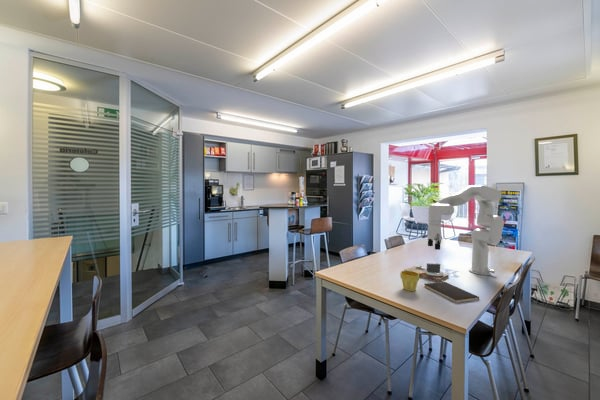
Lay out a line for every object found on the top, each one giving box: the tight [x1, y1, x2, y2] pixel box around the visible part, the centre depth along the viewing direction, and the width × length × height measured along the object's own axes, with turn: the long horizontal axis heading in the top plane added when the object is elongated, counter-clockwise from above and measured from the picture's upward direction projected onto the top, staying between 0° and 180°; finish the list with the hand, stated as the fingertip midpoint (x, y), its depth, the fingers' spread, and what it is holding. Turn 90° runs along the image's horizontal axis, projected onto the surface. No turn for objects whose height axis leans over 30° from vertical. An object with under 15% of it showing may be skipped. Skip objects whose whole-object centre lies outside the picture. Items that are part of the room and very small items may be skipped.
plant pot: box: [399, 270, 420, 292], centre depth 151 cm, size 10×10×10 cm
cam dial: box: [419, 262, 444, 277], centre depth 172 cm, size 15×12×7 cm
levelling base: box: [403, 265, 449, 283], centre depth 176 cm, size 24×14×4 cm, turn 38°
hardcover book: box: [423, 281, 480, 304], centre depth 146 cm, size 16×23×2 cm
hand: (433, 247), depth 171 cm, fingers open, 9 cm apart
